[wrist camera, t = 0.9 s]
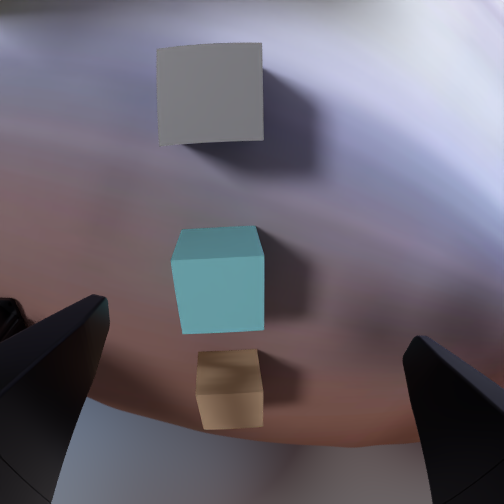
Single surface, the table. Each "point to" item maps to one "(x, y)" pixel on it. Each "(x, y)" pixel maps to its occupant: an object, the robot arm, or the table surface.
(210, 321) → the teal cube
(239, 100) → the gray cube
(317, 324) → the table surface
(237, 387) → the walnut cube
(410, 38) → the table surface
